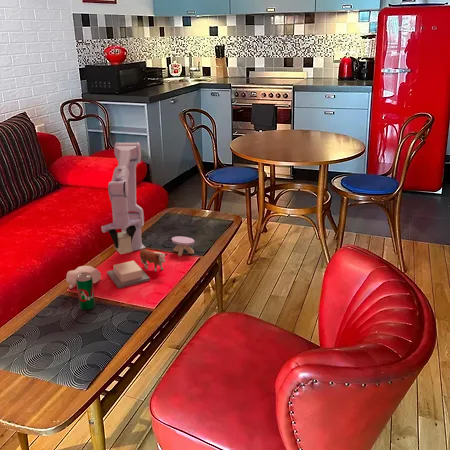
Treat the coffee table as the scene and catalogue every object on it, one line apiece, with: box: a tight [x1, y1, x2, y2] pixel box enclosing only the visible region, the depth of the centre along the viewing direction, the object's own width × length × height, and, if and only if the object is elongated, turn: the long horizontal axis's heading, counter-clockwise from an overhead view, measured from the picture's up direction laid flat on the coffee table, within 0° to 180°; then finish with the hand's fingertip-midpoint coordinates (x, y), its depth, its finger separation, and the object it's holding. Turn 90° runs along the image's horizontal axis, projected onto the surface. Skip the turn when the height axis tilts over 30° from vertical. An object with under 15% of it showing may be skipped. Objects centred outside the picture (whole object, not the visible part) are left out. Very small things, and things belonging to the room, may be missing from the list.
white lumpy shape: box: [65, 265, 102, 289], centre depth 178 cm, size 9×8×15 cm
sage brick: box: [114, 232, 133, 255], centre depth 188 cm, size 6×4×6 cm
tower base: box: [106, 259, 151, 289], centre depth 185 cm, size 13×12×4 cm
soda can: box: [76, 272, 96, 311], centre depth 164 cm, size 5×5×12 cm
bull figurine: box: [139, 248, 168, 272], centre depth 191 cm, size 4×13×8 cm, turn 53°
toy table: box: [171, 235, 195, 257], centre depth 206 cm, size 10×9×6 cm
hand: (123, 246), depth 189 cm, fingers closed on sage brick, 4 cm apart
